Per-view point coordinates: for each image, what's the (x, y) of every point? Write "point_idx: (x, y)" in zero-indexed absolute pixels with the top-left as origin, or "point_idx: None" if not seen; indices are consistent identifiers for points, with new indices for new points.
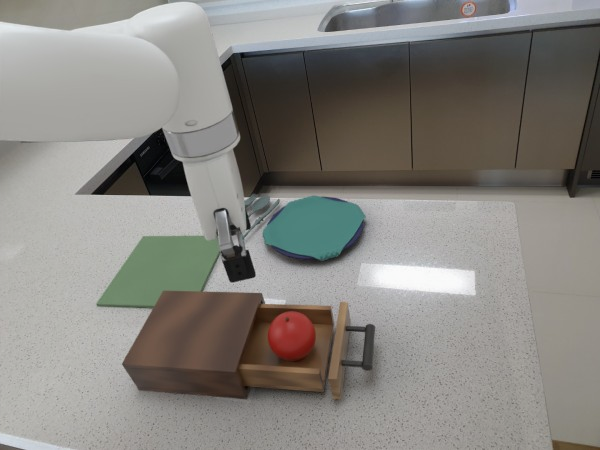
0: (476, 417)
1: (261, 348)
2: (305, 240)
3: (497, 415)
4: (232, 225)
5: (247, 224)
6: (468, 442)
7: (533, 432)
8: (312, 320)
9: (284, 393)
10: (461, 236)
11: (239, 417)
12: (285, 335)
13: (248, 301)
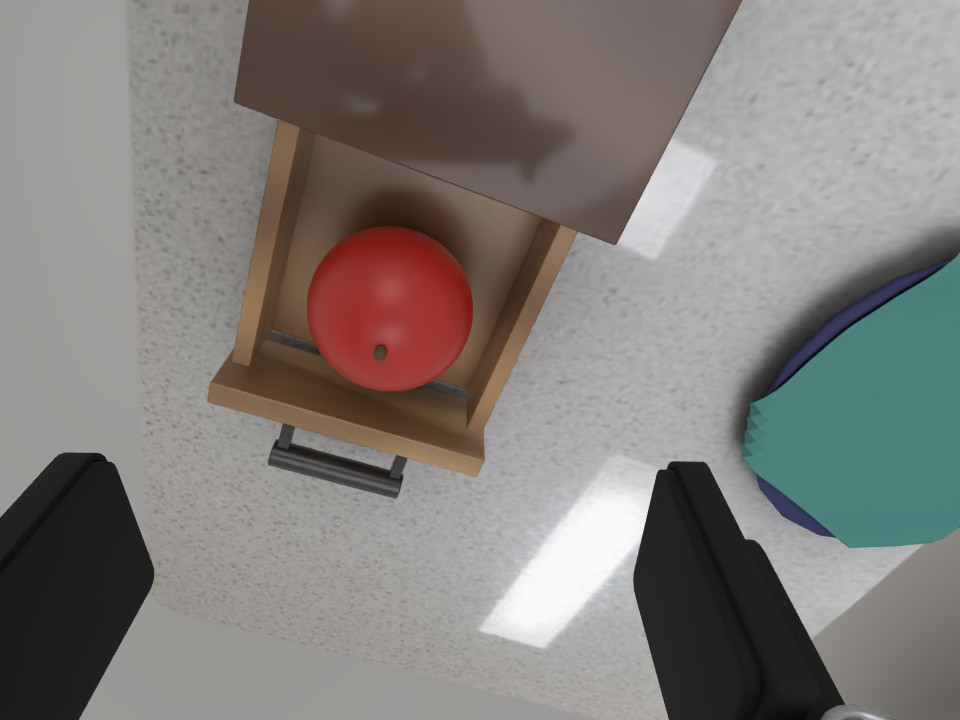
0: (198, 547)
1: None
2: (882, 376)
3: (201, 573)
4: (673, 554)
5: (643, 616)
6: (148, 523)
7: (168, 600)
8: (488, 349)
9: None
10: None
11: (220, 48)
12: (329, 325)
13: (591, 185)
